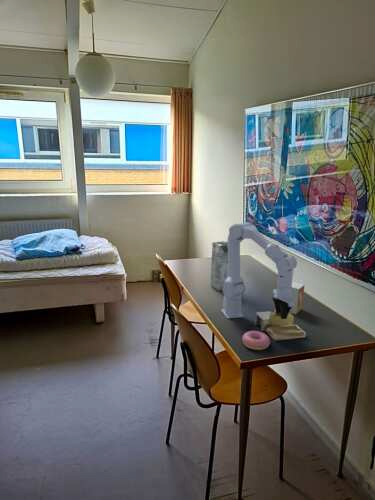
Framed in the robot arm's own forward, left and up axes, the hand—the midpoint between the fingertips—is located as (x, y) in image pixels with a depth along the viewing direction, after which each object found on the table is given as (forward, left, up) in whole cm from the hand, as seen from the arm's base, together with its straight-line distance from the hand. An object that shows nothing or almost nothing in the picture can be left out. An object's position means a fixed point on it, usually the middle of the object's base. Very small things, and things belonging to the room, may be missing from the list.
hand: (281, 316), depth 151 cm
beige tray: (0, +3, -8) cm, 9 cm away
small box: (-22, +19, -9) cm, 30 cm away
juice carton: (-58, -6, -9) cm, 59 cm away
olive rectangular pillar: (0, 0, -3) cm, 3 cm away
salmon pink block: (-8, -1, -8) cm, 12 cm away
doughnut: (+5, -13, -9) cm, 17 cm away
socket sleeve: (-8, -2, -8) cm, 12 cm away
